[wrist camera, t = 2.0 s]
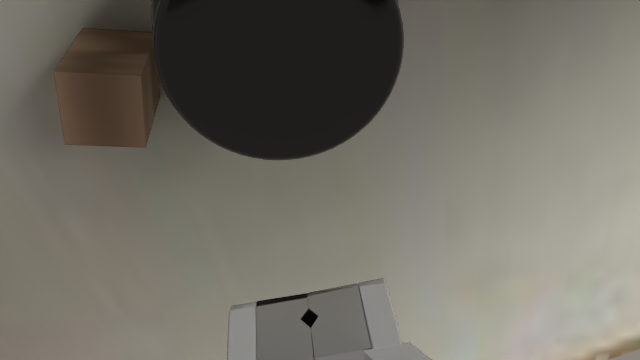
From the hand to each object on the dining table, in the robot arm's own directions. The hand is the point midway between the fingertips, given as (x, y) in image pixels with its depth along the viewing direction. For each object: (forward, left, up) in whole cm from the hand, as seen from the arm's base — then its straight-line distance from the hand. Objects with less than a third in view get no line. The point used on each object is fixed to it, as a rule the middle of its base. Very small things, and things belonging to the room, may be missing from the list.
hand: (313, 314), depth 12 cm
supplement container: (0, 0, -25) cm, 25 cm away
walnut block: (+10, +4, -25) cm, 27 cm away
